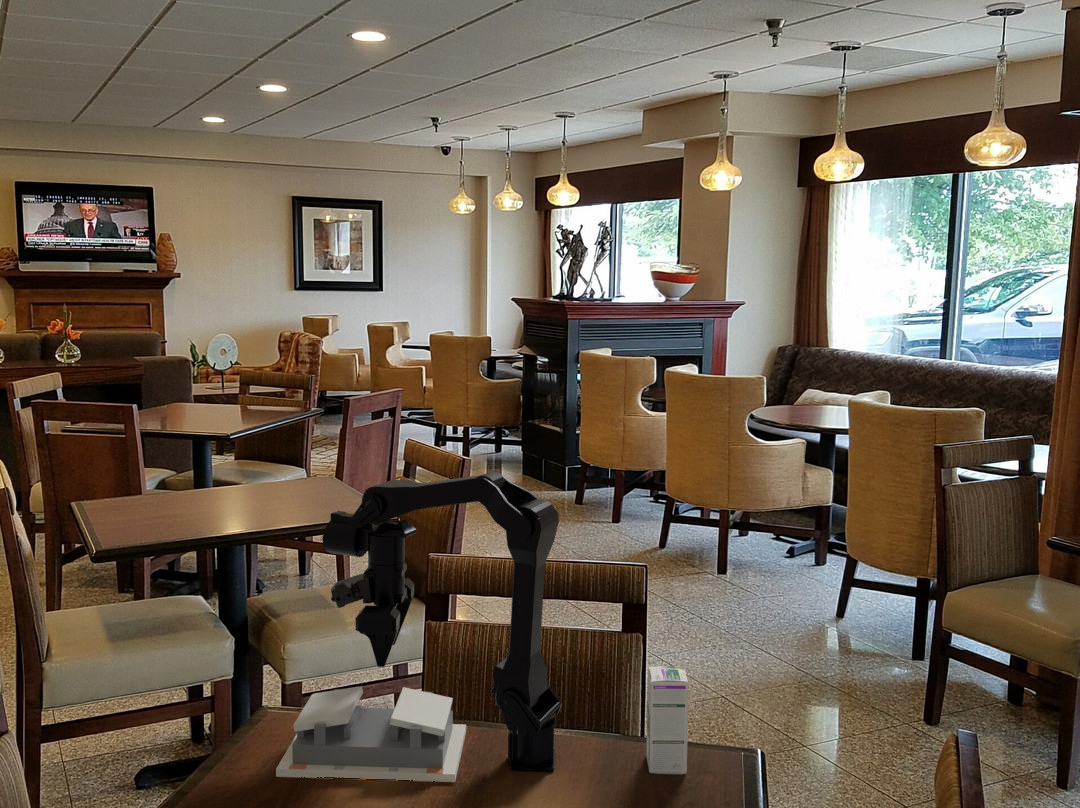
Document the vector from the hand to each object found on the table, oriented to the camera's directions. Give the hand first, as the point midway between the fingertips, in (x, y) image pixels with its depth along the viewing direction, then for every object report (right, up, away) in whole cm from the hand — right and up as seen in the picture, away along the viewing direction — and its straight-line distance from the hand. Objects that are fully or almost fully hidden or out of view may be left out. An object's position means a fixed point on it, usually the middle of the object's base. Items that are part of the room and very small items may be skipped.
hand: (386, 655), depth 158 cm
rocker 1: (-7, -6, -8) cm, 13 cm away
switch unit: (0, -13, -7) cm, 15 cm away
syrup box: (+44, -14, -9) cm, 47 cm away
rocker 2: (+7, -7, -8) cm, 13 cm away
